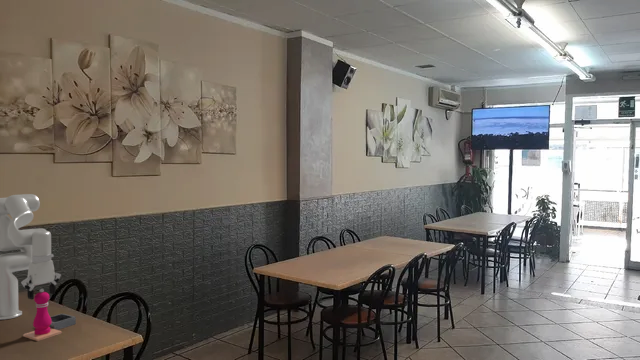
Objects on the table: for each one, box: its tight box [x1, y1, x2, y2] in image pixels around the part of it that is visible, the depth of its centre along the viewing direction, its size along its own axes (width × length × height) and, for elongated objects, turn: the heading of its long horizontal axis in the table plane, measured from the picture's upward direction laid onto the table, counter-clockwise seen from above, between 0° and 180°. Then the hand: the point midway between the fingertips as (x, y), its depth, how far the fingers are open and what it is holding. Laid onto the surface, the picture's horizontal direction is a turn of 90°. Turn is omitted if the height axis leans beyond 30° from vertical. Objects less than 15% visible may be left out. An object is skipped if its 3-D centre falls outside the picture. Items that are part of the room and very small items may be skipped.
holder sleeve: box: [49, 313, 77, 330], centre depth 229 cm, size 11×11×4 cm
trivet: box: [23, 328, 63, 342], centre depth 217 cm, size 11×11×1 cm
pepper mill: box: [32, 288, 52, 335], centre depth 217 cm, size 7×7×20 cm
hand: (41, 296), depth 216 cm, fingers open, 9 cm apart
